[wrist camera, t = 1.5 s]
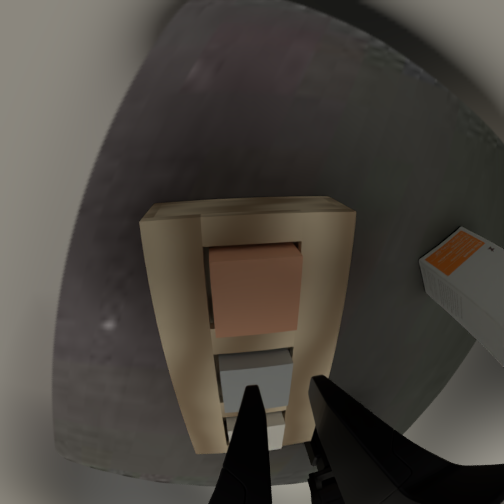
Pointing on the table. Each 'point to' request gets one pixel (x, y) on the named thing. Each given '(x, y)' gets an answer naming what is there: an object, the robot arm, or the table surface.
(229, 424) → the offwhite key
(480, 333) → the skincare box
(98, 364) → the table surface
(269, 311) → the terracotta key
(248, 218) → the wooden slotted tray
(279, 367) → the grey key
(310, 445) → the robot arm
